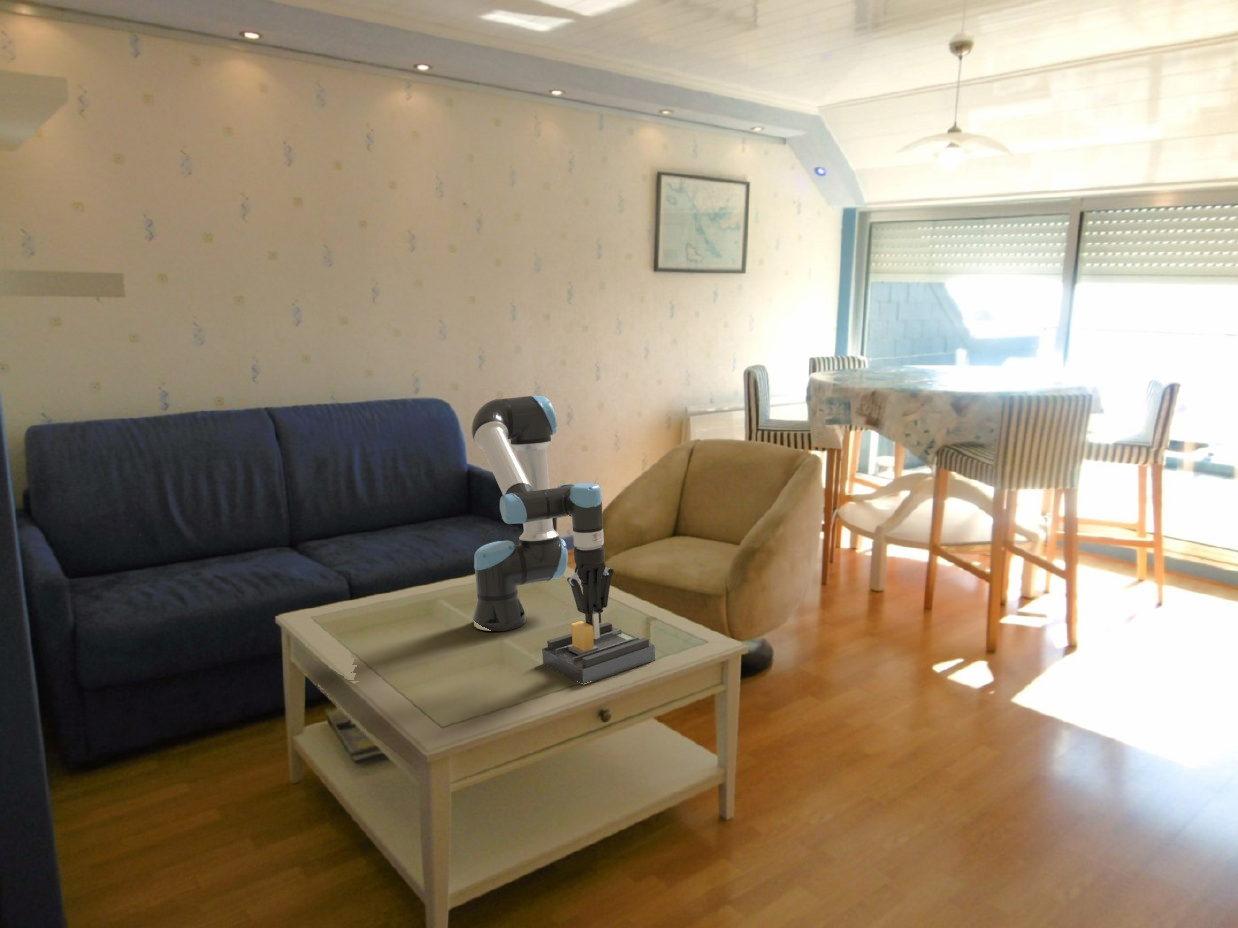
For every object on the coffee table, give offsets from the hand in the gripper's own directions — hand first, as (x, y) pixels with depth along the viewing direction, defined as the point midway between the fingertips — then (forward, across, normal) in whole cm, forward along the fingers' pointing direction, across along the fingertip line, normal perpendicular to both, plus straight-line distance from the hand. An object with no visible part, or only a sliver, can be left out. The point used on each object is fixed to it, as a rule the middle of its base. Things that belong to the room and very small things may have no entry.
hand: (594, 636), depth 220 cm
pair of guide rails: (+3, +1, 0) cm, 3 cm away
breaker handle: (+3, -4, 0) cm, 4 cm away
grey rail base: (+7, +1, 0) cm, 7 cm away
